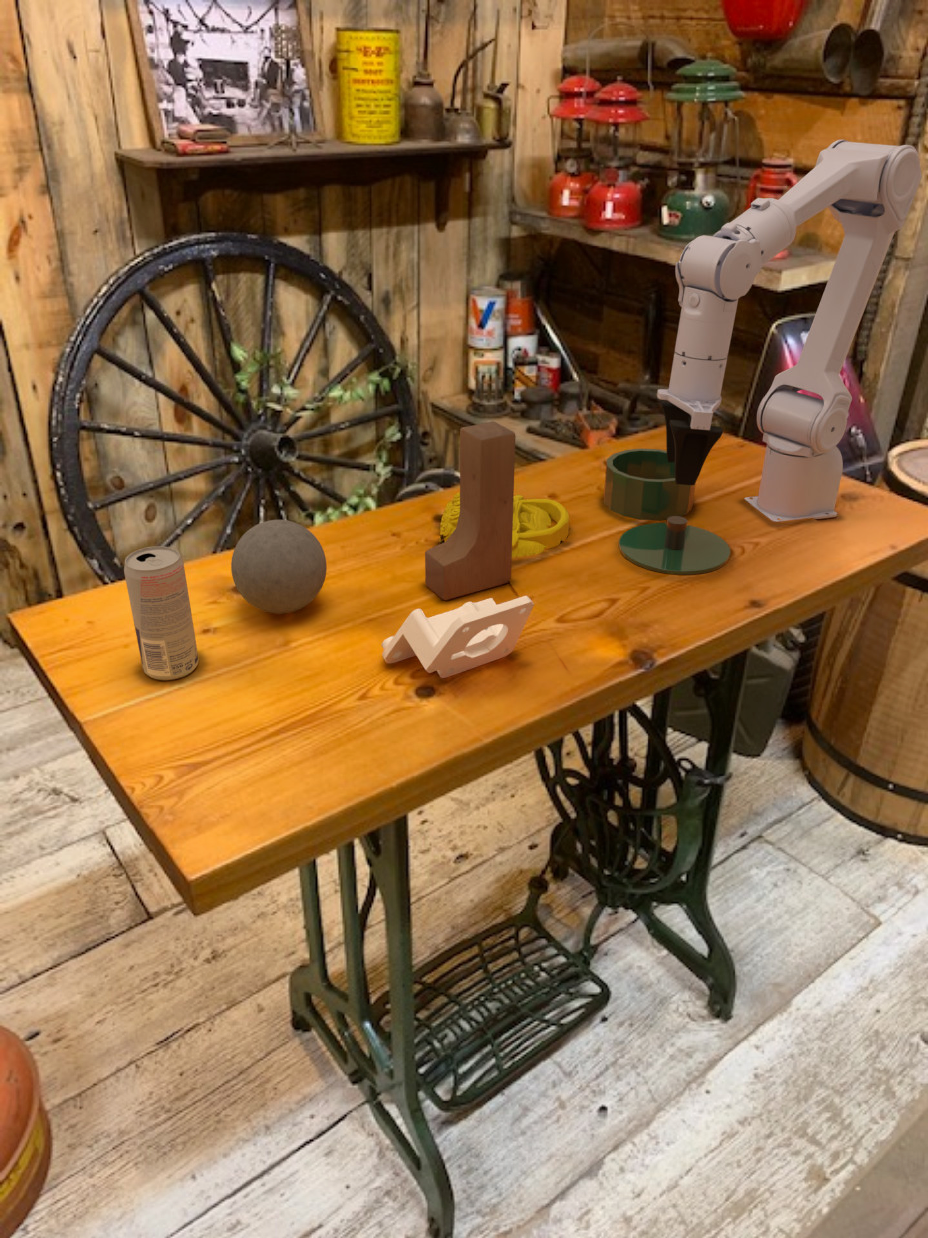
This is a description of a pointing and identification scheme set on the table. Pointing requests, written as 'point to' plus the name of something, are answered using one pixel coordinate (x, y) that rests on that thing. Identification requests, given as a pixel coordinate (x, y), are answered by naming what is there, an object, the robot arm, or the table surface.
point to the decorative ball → (278, 566)
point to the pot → (645, 486)
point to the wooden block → (478, 517)
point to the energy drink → (161, 612)
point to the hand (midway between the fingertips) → (680, 472)
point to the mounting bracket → (460, 636)
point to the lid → (674, 548)
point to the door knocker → (521, 524)
